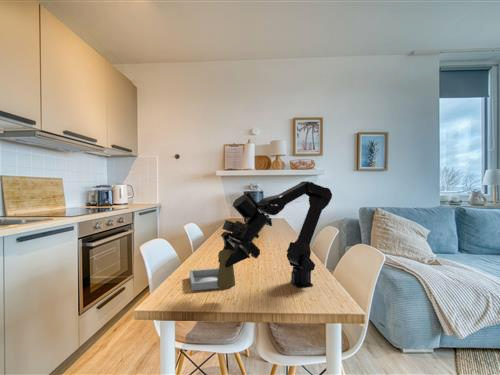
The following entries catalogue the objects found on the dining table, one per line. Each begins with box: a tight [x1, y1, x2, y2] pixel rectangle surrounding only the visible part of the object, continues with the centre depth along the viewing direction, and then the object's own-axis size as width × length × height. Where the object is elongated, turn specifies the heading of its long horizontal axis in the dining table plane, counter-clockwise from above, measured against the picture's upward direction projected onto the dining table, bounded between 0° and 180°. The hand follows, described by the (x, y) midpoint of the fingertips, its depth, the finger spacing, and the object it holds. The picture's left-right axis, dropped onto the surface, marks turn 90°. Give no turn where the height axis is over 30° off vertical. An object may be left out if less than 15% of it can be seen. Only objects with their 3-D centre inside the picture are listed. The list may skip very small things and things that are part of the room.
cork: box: [217, 249, 236, 289], centre depth 80 cm, size 6×6×11 cm
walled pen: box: [189, 267, 228, 293], centre depth 95 cm, size 14×14×3 cm
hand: (222, 264), depth 79 cm, fingers closed on cork, 5 cm apart
